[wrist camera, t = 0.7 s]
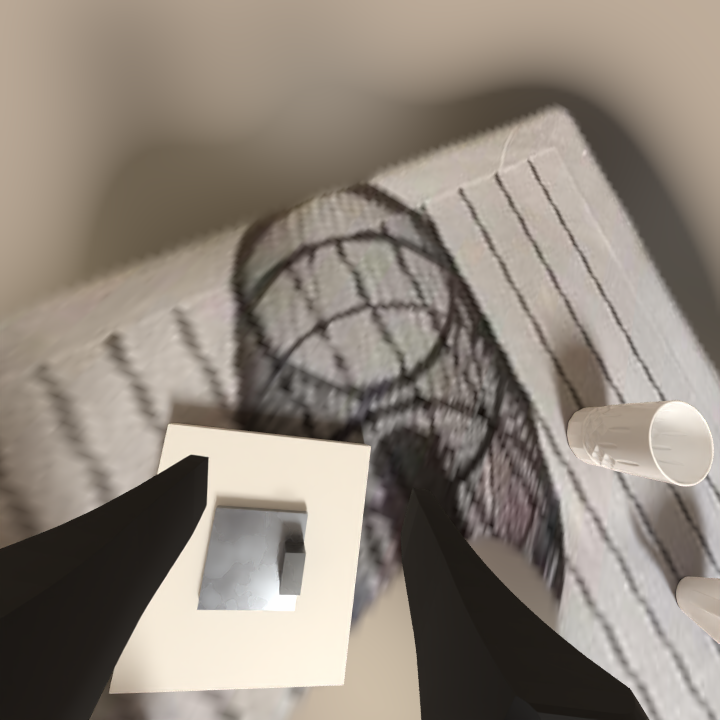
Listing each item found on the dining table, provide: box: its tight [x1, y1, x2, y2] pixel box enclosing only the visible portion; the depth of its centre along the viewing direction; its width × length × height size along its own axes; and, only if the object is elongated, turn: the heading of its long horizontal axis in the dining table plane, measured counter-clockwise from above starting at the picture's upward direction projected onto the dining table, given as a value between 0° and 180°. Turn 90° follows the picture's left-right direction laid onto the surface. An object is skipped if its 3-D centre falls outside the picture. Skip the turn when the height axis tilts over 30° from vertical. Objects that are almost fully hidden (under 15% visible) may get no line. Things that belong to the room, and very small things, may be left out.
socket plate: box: [109, 423, 371, 694], centre depth 30 cm, size 20×18×2 cm
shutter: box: [197, 505, 308, 611], centre depth 27 cm, size 8×8×3 cm
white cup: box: [567, 400, 714, 486], centre depth 37 cm, size 8×8×10 cm
